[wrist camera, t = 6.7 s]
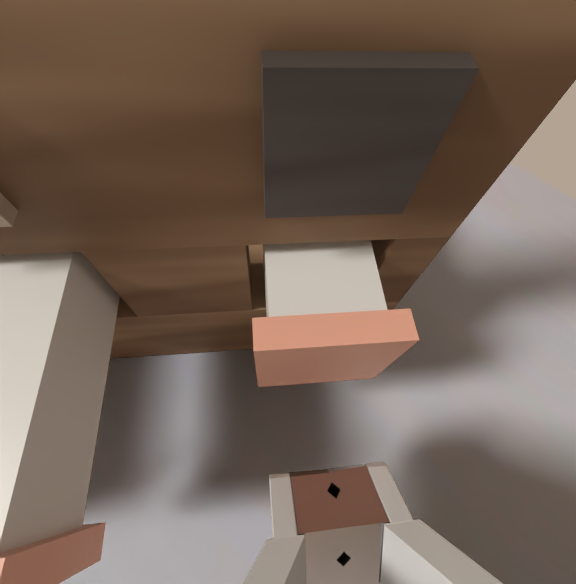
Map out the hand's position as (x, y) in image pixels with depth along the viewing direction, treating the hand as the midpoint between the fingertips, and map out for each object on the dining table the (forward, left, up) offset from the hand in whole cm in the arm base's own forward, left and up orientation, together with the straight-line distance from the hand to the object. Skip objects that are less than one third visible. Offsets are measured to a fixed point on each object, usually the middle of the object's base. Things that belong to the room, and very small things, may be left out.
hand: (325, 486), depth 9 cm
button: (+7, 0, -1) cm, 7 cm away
